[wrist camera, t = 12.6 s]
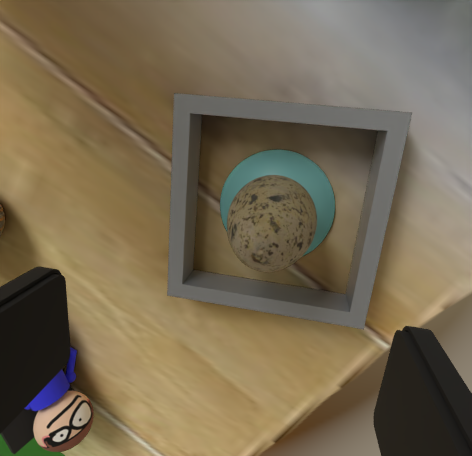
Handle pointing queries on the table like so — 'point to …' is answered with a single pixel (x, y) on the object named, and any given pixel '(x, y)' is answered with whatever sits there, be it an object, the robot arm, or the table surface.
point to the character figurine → (53, 416)
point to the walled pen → (305, 173)
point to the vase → (2, 219)
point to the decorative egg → (271, 223)
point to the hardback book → (27, 449)
